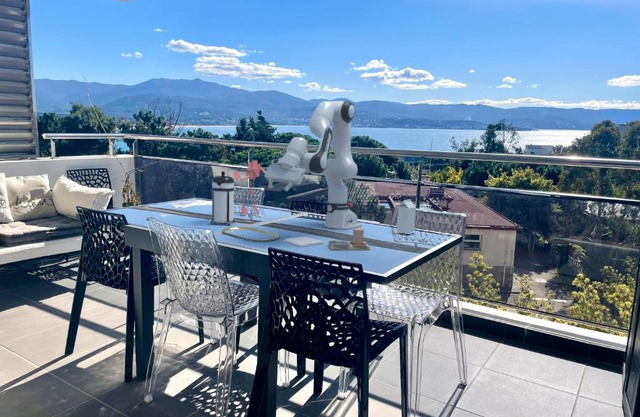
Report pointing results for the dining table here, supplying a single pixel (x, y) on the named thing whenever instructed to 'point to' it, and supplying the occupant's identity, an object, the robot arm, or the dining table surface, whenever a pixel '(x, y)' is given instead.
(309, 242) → the off-white ceramic tile
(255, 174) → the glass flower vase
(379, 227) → the dining table surface
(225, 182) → the coffee press
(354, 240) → the terracotta peg block
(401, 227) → the milk carton
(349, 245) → the birch puzzle board
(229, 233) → the serving platter
